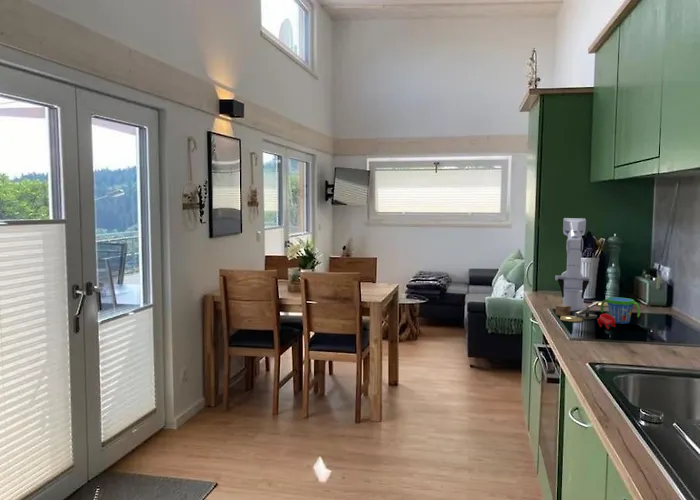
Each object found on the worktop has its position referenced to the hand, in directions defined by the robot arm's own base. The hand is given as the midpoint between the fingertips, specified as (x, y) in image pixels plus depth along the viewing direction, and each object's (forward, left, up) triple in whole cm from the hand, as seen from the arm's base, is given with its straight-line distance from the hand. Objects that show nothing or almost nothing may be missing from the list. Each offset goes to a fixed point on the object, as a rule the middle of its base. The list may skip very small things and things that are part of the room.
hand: (572, 297), depth 238 cm
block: (-9, -12, -11) cm, 18 cm away
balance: (-14, -3, -11) cm, 18 cm away
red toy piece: (-4, +14, -11) cm, 18 cm away
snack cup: (-18, +10, -11) cm, 23 cm away
